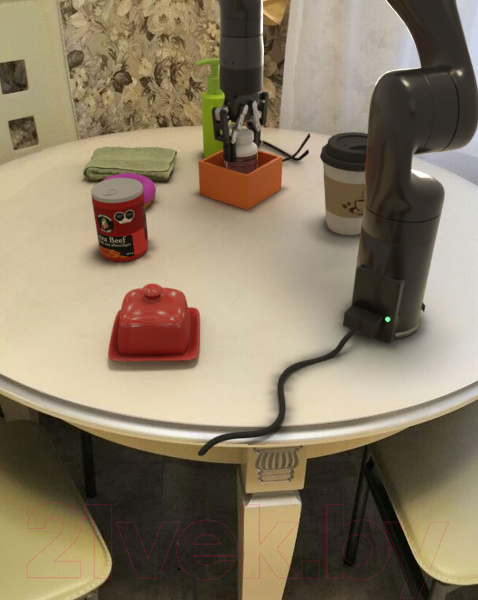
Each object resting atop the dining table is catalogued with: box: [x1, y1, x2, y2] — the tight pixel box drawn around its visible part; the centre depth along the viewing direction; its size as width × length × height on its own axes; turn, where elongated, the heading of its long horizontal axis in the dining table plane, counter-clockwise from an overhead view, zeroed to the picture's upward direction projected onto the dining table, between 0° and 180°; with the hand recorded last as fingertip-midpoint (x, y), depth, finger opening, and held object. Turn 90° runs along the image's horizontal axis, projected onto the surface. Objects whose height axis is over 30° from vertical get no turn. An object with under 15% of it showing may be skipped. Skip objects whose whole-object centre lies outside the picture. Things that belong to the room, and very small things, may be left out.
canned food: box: [90, 178, 149, 263], centre depth 97 cm, size 8×8×11 cm
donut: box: [102, 173, 157, 209], centre depth 113 cm, size 10×10×5 cm
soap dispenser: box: [194, 57, 232, 158], centre depth 127 cm, size 6×7×20 cm
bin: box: [197, 149, 284, 211], centre depth 116 cm, size 11×11×7 cm
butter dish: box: [107, 283, 201, 363], centre depth 79 cm, size 12×12×8 cm
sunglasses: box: [258, 128, 311, 163], centre depth 129 cm, size 17×14×5 cm
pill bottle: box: [224, 127, 259, 174], centre depth 115 cm, size 6×6×11 cm
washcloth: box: [82, 146, 178, 182], centre depth 126 cm, size 13×18×3 cm
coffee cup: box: [319, 131, 368, 236], centre depth 103 cm, size 11×11×15 cm
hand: (241, 155), depth 114 cm, fingers closed on pill bottle, 6 cm apart
